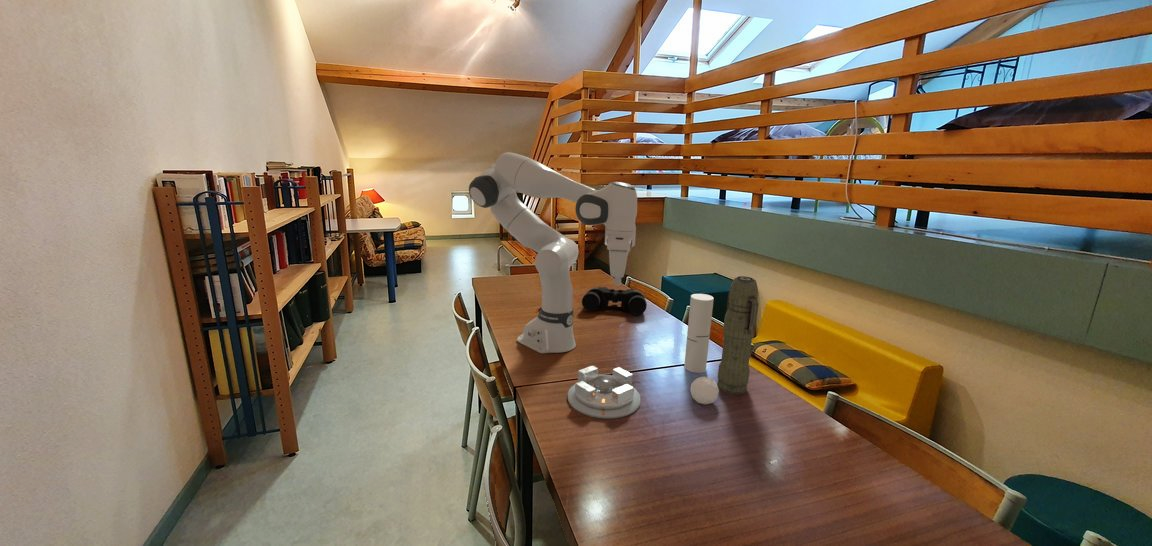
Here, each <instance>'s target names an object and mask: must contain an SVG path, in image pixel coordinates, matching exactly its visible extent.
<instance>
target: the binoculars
mask: <svg viewBox="0 0 1152 546" xmlns="http://www.w3.org/2000/svg"><path fill="white" fill-rule="evenodd" d="M609 302H612V303H614V304H616V303H619V302H620V303H621V304H620V307H621V308H622V310H623V311H624V312H626V313H630V314H634V315H637V316H638V315H642V314H643V313H645V312H646V310H647V305H648V303H647V301H646V297H645V294H643V292H642V291H641V290H639V289H631V288H627V289H626V290H625V289H624V290H623V289H618V290H617V289H614V288H608V287H606V286H603V287H601V286H594V287H592V288H591V289H589V290H587V291H586V293H585V294H584V295H583V297H582V299H581V305H582V307H583V308H584V309H585V310H587V312H589V311H591V312H592V311H602V310H605V309H607V307H608V306H609Z"/></svg>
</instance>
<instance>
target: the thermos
mask: <svg viewBox="0 0 1152 546" xmlns="http://www.w3.org/2000/svg"><path fill="white" fill-rule="evenodd" d="M732 280H733V281H732V282H731V285H730V288H729V291H728V292H727V301H726V313H725V315H724V320H723V331H722V333H723V345H722V353H721V360H720V362H719V365H718V369H717V370H718V371H717V382H716V383H717V386H718V389H719V391H720V390H721V391H722V392H724V393H727V394H730V393H731V395H742V394H746V392H747V388H748V384H749V380H750V372H751V371H750V367H749V363H750V356H751V351H752V349H751V348H752V340H753V339H754V337H755V332H756V324H757V318H758V310H759V302H758V293H759V292H758V291H759V288H758V284H757V280H756V279H754V278H753V277H750V276H746V275H745V276H744V275H742V276H737V277H734V279H732Z"/></svg>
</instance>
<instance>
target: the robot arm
mask: <svg viewBox="0 0 1152 546" xmlns="http://www.w3.org/2000/svg"><path fill="white" fill-rule="evenodd" d="M517 192H518V193H521V194H522V195H526V196H528V197H531V198H536V199H546V198H547V199H550V198H551V199H552V198H554V199H555V198H556V199H557V198H559V199H565V200H568V201H571V202H573V203H576V204H575V206H574V207H575V208H574V209H575V215H576V217H577V219H578V221H580V222H581V224H584V225H585V226H597V225H604V226H605V229H604V230H605V233H604V245H605V246H606V250H608V251H609V252H608V257H609V272H610V277H611V278H614V286H616V287H617V286H618V287H621V285H622V278H624V276H625V272H626V267H627V261H628V256H629V253H630V252H631V249H632V248H633V247H635V246H636V236H637V235H636V233H637V232H636V231H637V226H636V218H637V215H638V194H637V189H636V188H635V187H634V186H633V185H631V184H630V183H626V182H621V181H611V182H609V184H608V185H606V186H604V187H602V188H600V189H596V188H594V187H591V186H588V185H586V184H584V183H581V182H578V181H576V180H574V179H572V178H569V177H567V176H565V175H563V174H561V173H559V172H557V171H555V170H553V169H552V168H550V167H549V166H547V165H545V164H542V163H541V162H539V161H537V160H535V159H532V158H530V157H528V156H525V155H523V154H519V153H516V152H511V151H509V152H508V151H507V152H504V153H502V154H501V155H499V156H498V157H497V158H496V161H495V162H494V164H492V165H491V166H488V168H487V169H486V170H484V171H483V172H482V173H481V174H479V175H478V176H476V177H474V179H473V180H472V181H471V182H470V183H469V185H468V193H469V196H470V199H471V200H472V201H473V202H474V203H475V204H476V206H479V207H481V208H485V209H487V208H490V212H491V214H492V215H493V217H494V218H495V219H496V220H497V222H498V223H499V224H500V225H501V226H502V227H503V228H504V229H505V230H506V231H507V232H508V233H509V234H510V235H511V236H512V237H513V238H514V239H515V240H516V241H517V242H519V243H520V244H521V245H522V247H525V248H529V249H531V250H532V251H533V252H536V253H537V254H536V256H535V259H534V266H535V269H536V270H537V272H538V274H539V278H540V285H541V306H540V307H539V308H537V309H536V310H535V313H538V315H537V316H536V317H535V318H533V319H531V320H530V321H529V322H528V323H526V324H525V325H524V327H523V331H522V332H523V333H522V334H520V335H519V336H517V338H516V342H518V344H522V345H523V346H525V347H527V348H529V349H531V350H533V351H535V352H537V353H539V354H548V353H549V354H550V353H555V354H556V353H558V354H559V353H566V352H569V351H571V350H573V349H575V348H576V346H577V343H576V341H575V334H574V326H573V323H574V308H573V297H574V295H573V294H574V293H573V292H574V291H573V290H574V288H573V286H572V284H571V277H570V268H571V267H572V266H573V265H574V264H576V262H577V259H578V256H579V253H580V252H579V247H578V244H577V243H576V242H575V241H574V240H573V239H570V238H568V237H566V236H564V235H563V234H562V233H561V232H559V231H558V230H556V229H554V227H551V226H550V225H548V224H547V223H546V222H544V221H543V220H542V219H541V218H540V217H539V216H538V215H537V214H536V213H534V212H533V210H531V209H530V207H528V206H527V205H526V204H524V203H523V202H522V201H521V200H520V199H519V197H518V195H517Z"/></svg>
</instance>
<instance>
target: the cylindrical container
mask: <svg viewBox="0 0 1152 546" xmlns="http://www.w3.org/2000/svg"><path fill="white" fill-rule="evenodd" d="M689 302H690V303H689V310H688V311H689V313H688V323H687V332H686V333H687V335H686V342H685V343H686V346H685V355H684V367H683V368H684V369H685V370H687V371H689V372H691V373H697V374H698V373H699V374H701V373H704V372H705V371H706V370H707V363H708V353H709V347H710V346H709V345H710V344H709V343H710V336H711V327H712V318H713V310H714V309H713V308H714V297H713V296H712V295H710V294H705V293H693V294H691V295H690V301H689Z"/></svg>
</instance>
